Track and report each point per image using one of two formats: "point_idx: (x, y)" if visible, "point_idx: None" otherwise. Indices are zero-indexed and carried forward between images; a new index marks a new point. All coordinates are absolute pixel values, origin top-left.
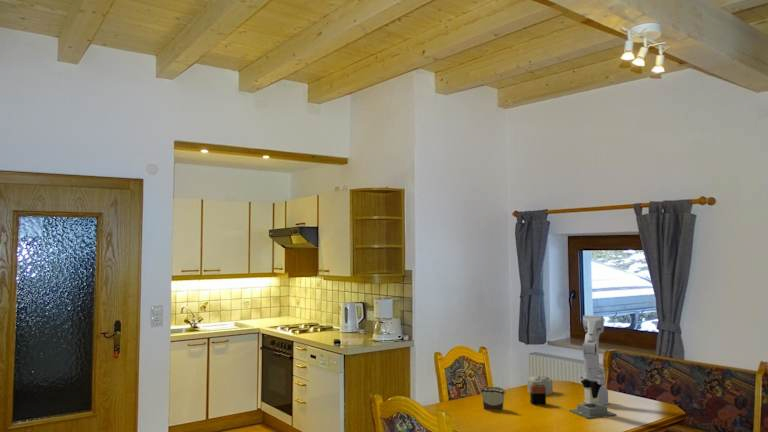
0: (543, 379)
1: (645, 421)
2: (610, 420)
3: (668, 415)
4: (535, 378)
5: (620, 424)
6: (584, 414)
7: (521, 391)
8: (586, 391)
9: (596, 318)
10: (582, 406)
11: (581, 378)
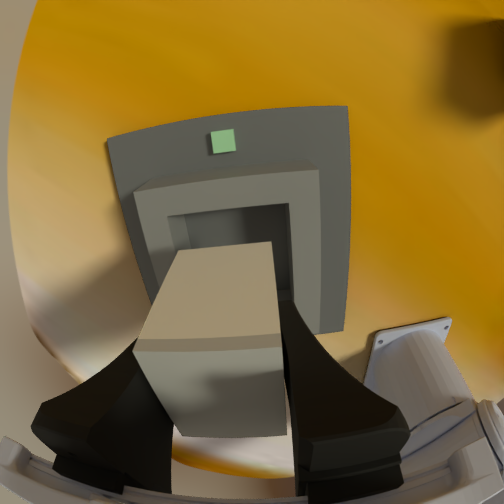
0: None
1: (82, 371)
2: (77, 258)
3: None
4: None
5: (25, 264)
6: (186, 152)
7: None
8: (223, 314)
9: None
10: (234, 176)
11: (454, 453)
